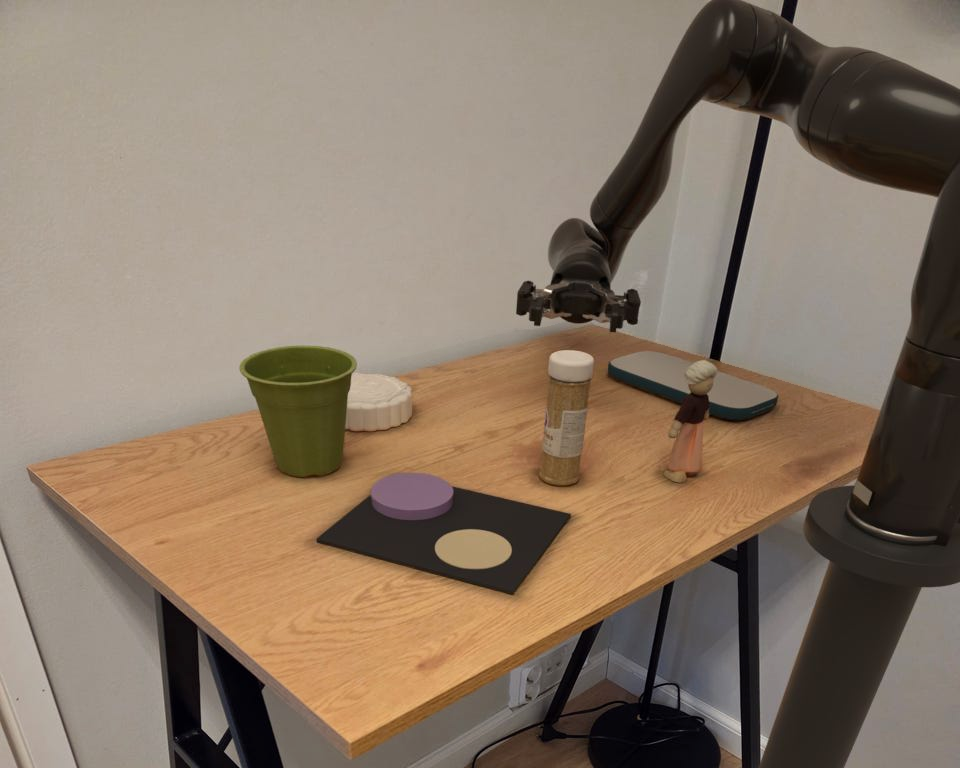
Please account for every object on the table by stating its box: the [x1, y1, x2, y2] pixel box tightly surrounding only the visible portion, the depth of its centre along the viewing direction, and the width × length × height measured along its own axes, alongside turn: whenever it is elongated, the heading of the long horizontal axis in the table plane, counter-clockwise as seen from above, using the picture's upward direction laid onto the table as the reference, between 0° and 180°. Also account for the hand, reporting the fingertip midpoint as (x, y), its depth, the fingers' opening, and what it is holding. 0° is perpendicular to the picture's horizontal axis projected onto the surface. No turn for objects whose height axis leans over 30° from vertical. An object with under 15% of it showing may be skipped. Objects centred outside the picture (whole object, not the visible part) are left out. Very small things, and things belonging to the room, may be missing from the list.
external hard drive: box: [607, 350, 779, 421], centre depth 113 cm, size 24×12×2 cm, turn 41°
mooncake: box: [345, 372, 413, 433], centre depth 102 cm, size 12×12×4 cm
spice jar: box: [538, 349, 595, 486], centre depth 86 cm, size 5×5×14 cm
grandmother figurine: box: [663, 359, 718, 484], centre depth 89 cm, size 8×4×13 cm, turn 151°
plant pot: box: [239, 345, 358, 478], centre depth 87 cm, size 12×12×11 cm
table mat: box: [315, 485, 572, 596], centre depth 80 cm, size 20×16×1 cm
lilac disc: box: [370, 472, 454, 520], centre depth 83 cm, size 8×8×1 cm
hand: (575, 320), depth 91 cm, fingers open, 8 cm apart
